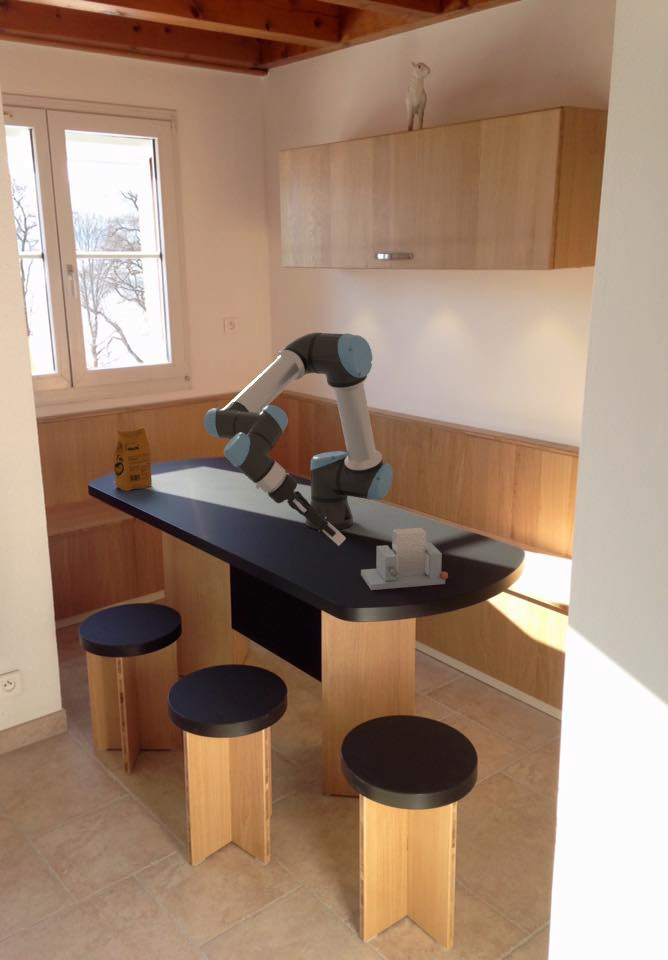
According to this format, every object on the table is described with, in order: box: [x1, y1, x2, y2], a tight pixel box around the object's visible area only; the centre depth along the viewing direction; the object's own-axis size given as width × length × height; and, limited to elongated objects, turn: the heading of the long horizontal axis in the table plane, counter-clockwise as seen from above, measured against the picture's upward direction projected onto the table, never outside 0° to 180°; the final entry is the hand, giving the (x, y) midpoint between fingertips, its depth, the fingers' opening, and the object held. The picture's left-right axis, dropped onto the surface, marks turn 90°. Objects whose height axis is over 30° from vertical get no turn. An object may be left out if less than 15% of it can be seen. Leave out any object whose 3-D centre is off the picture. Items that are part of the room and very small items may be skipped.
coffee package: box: [113, 426, 153, 492], centre depth 316 cm, size 10×12×22 cm
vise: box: [360, 540, 449, 591], centre depth 226 cm, size 12×21×8 cm, turn 102°
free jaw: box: [375, 544, 398, 581], centre depth 224 cm, size 13×4×6 cm, turn 12°
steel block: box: [391, 527, 427, 578], centre depth 226 cm, size 4×8×12 cm, turn 102°
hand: (341, 541), depth 221 cm, fingers closed
